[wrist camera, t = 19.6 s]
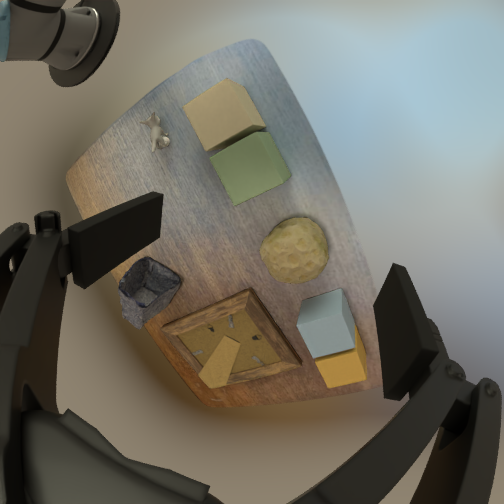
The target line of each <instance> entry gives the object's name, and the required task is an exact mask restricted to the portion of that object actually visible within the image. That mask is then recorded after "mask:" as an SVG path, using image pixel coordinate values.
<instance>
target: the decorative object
mask: <svg viewBox="0 0 504 504" xmlns="http://www.w3.org/2000/svg"><path fill="white" fill-rule="evenodd" d="M259 251H260V255H261V258H262V261H264V262H265V265H266V266H267V268H268V270H269V273H270V275H271V276H272V277H273V278H274V279H276V280H277V281H280V282H284V283H290V284H291V283H294V284H298V283H304V282H307V281H309V280H312V279H315V278H317V277H318V275H319V274H320V273H321V272H322V271H323V269H324V267H325V266H326V264H327V261H328V259H329V256H328V246H327V241H326V238H325V236H324V233H323V231H322V230H321V228H320V227H319V226H318V225H317V224H316V223H314V222H312V221H311V220H310V219H308V218H307V217H303V218H295V217H294V218H292V219H289V220H285V221H283V222H282V223H280V224H279V225H278V226H276V227H275V228H274V229H273V230H272V232H271V233H270V234H269V235H268V236H266V237H265V239H264V240H263V241H262V244H261V247H260V250H259Z"/></svg>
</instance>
